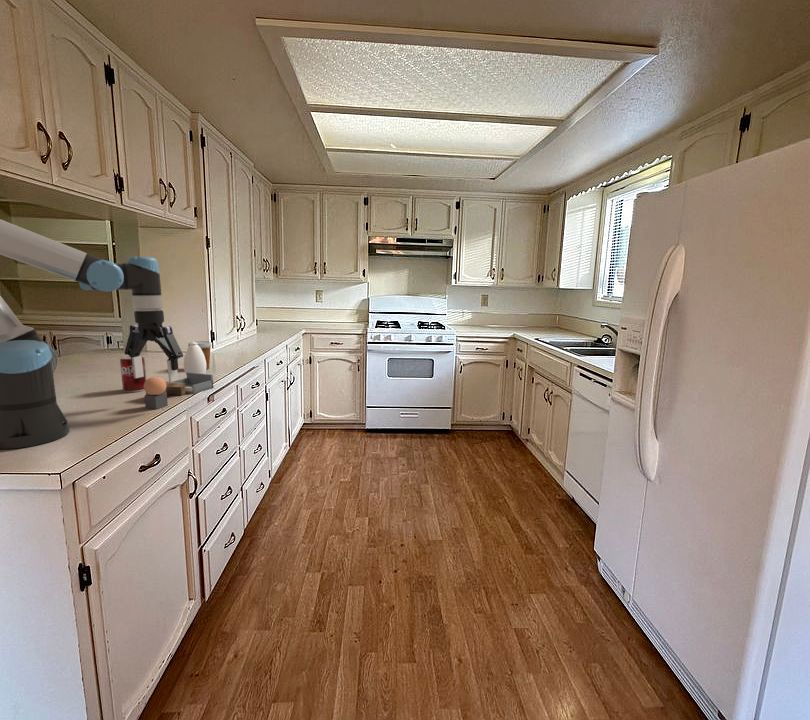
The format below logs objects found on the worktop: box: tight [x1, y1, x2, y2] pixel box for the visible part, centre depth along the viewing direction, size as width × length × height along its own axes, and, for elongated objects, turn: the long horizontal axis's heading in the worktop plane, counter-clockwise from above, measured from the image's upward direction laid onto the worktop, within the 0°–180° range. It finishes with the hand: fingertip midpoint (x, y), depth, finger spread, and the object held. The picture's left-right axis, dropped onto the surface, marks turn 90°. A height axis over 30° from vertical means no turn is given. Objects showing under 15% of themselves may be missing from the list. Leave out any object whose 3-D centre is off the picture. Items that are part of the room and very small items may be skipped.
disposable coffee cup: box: [187, 340, 212, 370], centre depth 187 cm, size 10×10×12 cm
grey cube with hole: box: [144, 393, 169, 410], centre depth 130 cm, size 4×4×4 cm
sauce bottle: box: [183, 335, 207, 376], centre depth 163 cm, size 8×8×18 cm
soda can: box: [119, 355, 147, 393], centre depth 149 cm, size 7×7×12 cm
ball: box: [144, 376, 167, 396], centre depth 129 cm, size 6×6×6 cm
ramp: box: [145, 381, 186, 396], centre depth 142 cm, size 10×7×6 cm
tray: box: [172, 372, 214, 395], centre depth 152 cm, size 9×11×5 cm
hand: (156, 379), depth 129 cm, fingers open, 13 cm apart
